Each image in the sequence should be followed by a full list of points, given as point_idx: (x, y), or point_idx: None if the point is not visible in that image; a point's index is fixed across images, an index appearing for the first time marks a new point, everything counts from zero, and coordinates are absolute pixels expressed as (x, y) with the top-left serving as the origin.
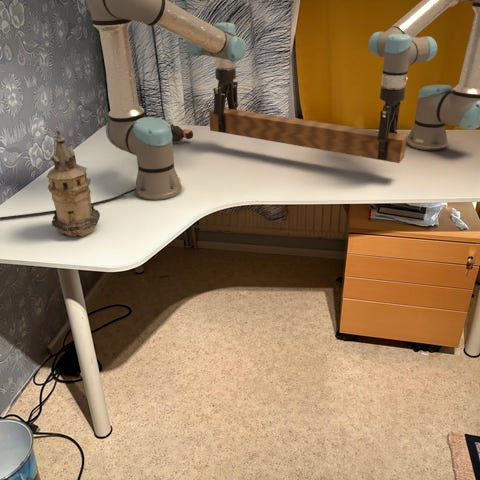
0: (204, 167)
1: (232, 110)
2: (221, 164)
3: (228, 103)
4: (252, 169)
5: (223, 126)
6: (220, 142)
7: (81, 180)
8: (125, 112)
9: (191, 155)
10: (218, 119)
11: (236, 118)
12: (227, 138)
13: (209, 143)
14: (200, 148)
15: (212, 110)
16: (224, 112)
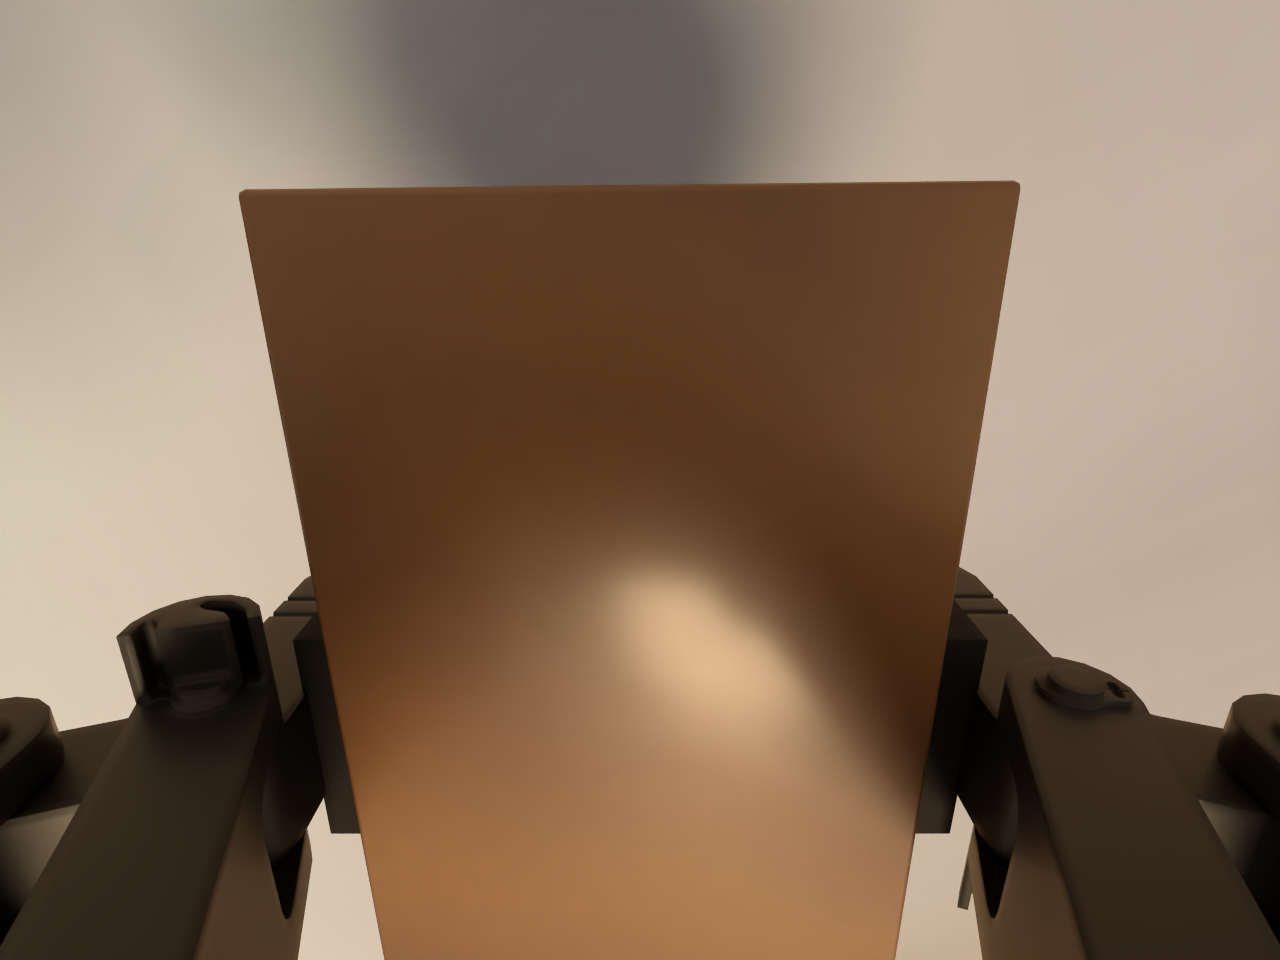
0: (43, 486)
1: (754, 942)
2: (232, 591)
3: (1051, 926)
4: (324, 862)
5: None
6: (867, 165)
7: None
8: None
9: (207, 96)
10: (267, 638)
11: None
12: (1073, 160)
13: (759, 28)
14: (504, 35)
15: (350, 326)
16: (410, 852)
